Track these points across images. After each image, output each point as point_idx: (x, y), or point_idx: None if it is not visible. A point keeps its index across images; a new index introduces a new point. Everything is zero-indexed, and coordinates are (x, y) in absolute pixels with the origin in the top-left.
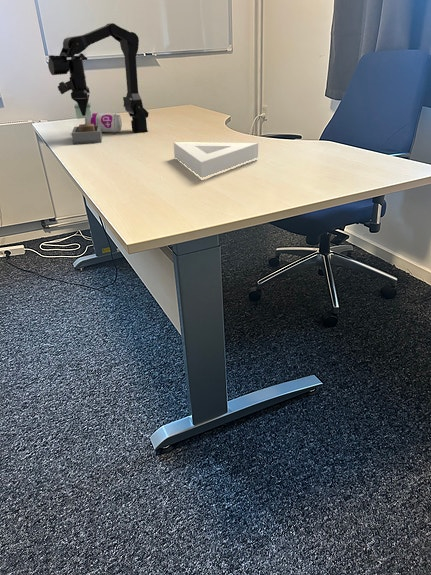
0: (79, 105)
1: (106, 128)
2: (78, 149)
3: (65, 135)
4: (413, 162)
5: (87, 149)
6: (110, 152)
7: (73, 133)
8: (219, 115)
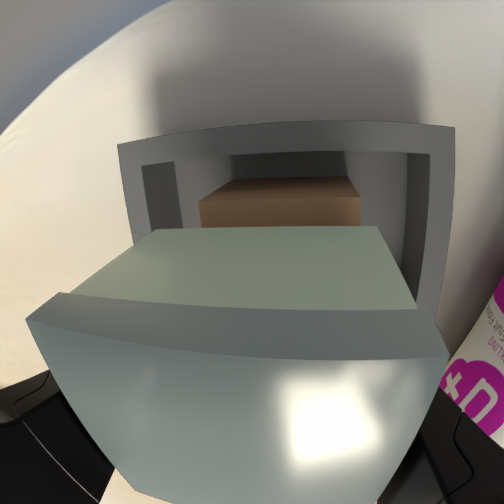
0: (25, 394)
1: (456, 356)
2: (59, 196)
3: (500, 56)
4: None
5: (60, 240)
6: None
7: (121, 160)
8: None
